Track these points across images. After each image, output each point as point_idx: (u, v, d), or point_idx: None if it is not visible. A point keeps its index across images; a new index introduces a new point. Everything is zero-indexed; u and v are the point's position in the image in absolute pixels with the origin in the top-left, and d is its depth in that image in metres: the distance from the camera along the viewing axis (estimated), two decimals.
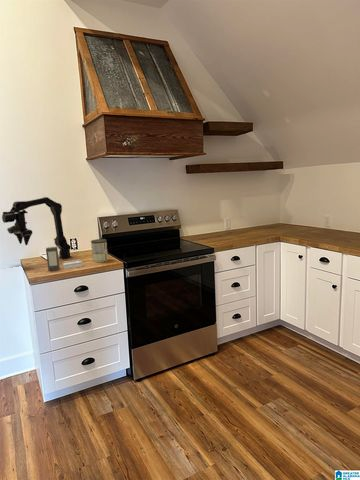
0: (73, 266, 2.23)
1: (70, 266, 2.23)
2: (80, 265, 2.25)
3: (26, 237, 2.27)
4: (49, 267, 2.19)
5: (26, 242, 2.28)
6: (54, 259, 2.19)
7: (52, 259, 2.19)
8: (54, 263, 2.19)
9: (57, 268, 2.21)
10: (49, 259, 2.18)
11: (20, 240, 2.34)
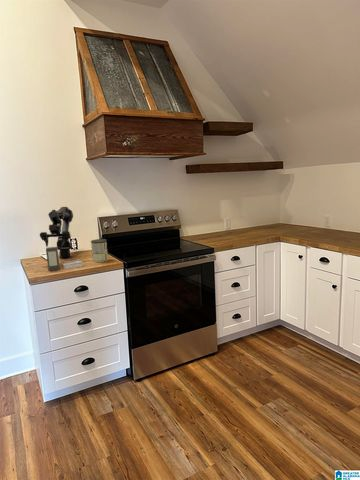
0: (73, 266, 2.23)
1: (70, 266, 2.23)
2: (80, 265, 2.25)
3: (64, 239, 2.31)
4: (49, 267, 2.19)
5: (62, 243, 2.29)
6: (54, 259, 2.19)
7: (52, 259, 2.19)
8: (54, 263, 2.19)
9: (57, 268, 2.21)
10: (49, 259, 2.18)
11: (47, 244, 2.28)
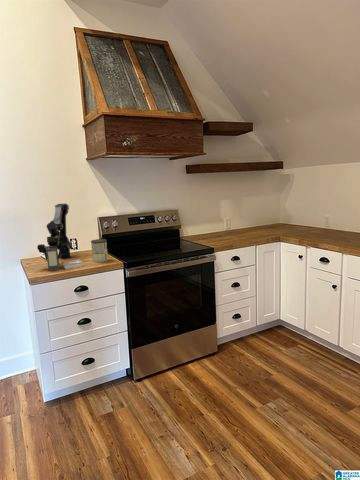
0: (73, 266, 2.23)
1: (70, 266, 2.23)
2: (80, 265, 2.25)
3: (61, 251, 2.23)
4: (49, 267, 2.19)
5: (59, 256, 2.21)
6: (54, 259, 2.19)
7: (52, 259, 2.19)
8: (54, 263, 2.19)
9: (57, 268, 2.21)
10: (49, 259, 2.18)
11: (46, 256, 2.21)
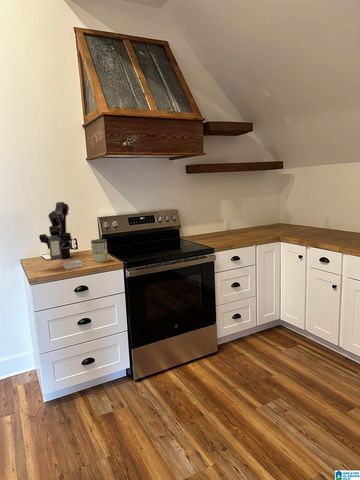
0: (73, 266, 2.23)
1: (70, 266, 2.23)
2: (80, 265, 2.25)
3: None
4: (52, 257, 2.19)
5: (62, 245, 2.21)
6: (57, 249, 2.19)
7: (55, 249, 2.18)
8: (56, 252, 2.19)
9: (60, 258, 2.21)
10: (52, 249, 2.18)
11: None
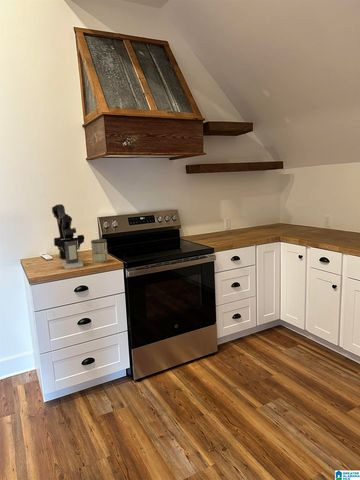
0: (73, 266, 2.23)
1: (70, 266, 2.23)
2: (80, 265, 2.25)
3: None
4: (69, 261, 2.24)
5: (79, 247, 2.28)
6: (74, 253, 2.25)
7: (72, 253, 2.25)
8: (74, 256, 2.25)
9: (76, 261, 2.27)
10: (69, 253, 2.24)
11: None
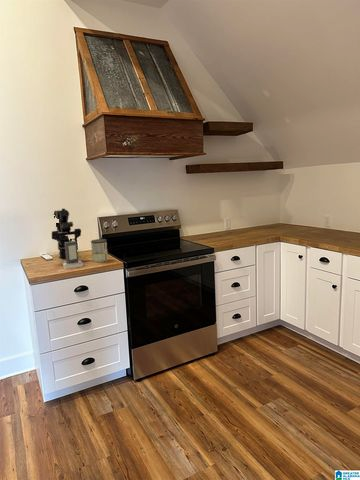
0: (73, 266, 2.23)
1: (70, 266, 2.23)
2: (80, 265, 2.25)
3: None
4: (69, 261, 2.25)
5: (76, 240, 2.35)
6: (74, 253, 2.25)
7: (72, 253, 2.25)
8: (74, 256, 2.26)
9: (76, 261, 2.27)
10: (69, 253, 2.24)
11: None
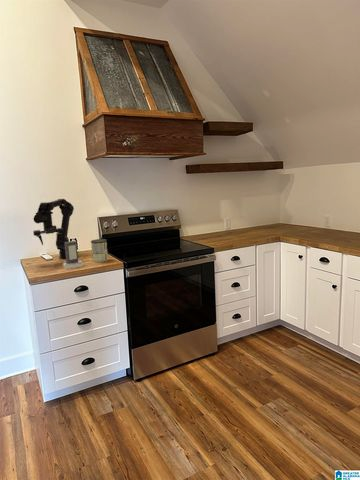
0: (73, 266, 2.23)
1: (70, 266, 2.23)
2: (80, 265, 2.25)
3: None
4: (69, 261, 2.25)
5: (58, 240, 2.38)
6: (74, 253, 2.25)
7: (72, 253, 2.25)
8: (74, 256, 2.26)
9: (76, 261, 2.27)
10: (69, 253, 2.24)
11: (42, 242, 2.34)
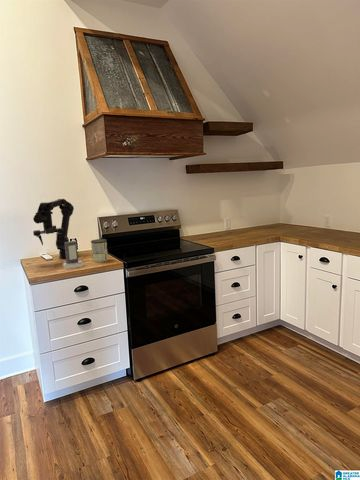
0: (73, 266, 2.23)
1: (70, 266, 2.23)
2: (80, 265, 2.25)
3: None
4: (69, 261, 2.25)
5: (57, 240, 2.38)
6: (74, 253, 2.25)
7: (72, 253, 2.25)
8: (74, 256, 2.26)
9: (76, 261, 2.27)
10: (69, 253, 2.24)
11: (42, 242, 2.34)
